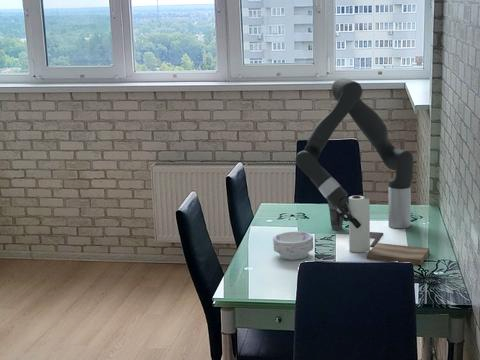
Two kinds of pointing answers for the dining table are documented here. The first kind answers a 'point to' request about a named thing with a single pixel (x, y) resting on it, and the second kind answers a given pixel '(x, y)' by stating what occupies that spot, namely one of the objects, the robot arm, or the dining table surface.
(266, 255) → the dining table surface
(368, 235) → the paper towel roll
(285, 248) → the grey marble bowl
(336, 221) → the beverage cup
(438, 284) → the dining table surface
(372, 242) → the chocolate bar
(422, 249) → the walnut board
